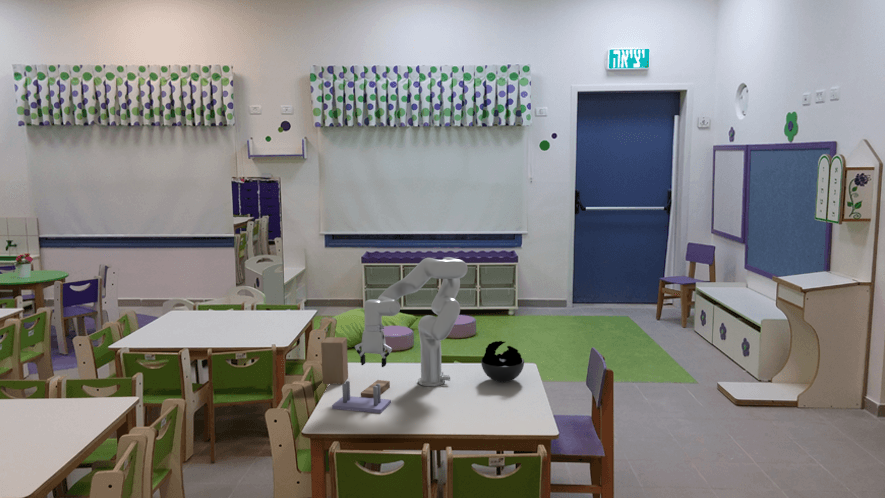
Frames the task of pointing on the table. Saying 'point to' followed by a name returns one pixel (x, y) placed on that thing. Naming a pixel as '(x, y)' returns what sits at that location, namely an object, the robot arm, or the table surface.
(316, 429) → the table surface
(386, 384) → the shelf board
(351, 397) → the peg stand
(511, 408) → the table surface
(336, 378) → the wooden block
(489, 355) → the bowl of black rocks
